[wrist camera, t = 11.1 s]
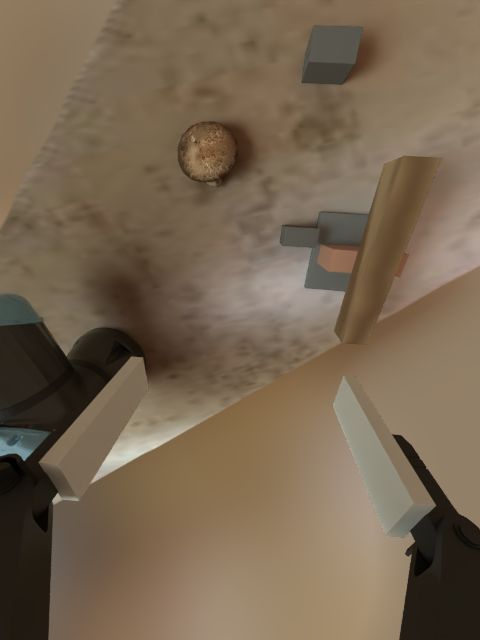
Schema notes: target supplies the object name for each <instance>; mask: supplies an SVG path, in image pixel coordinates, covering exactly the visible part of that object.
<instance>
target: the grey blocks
mask: <svg viewBox="0 0 480 640" xmlns="http://www.w3.org/2000/svg"><path fill="white" fill-rule="evenodd" d="M362 30H363V27H348V26H319V25H314V27H313V30H312V33H311V37H310V40H309V43H308V46H307V50H306V53H305V61H304V68H303V75H302V83H318V84H341V85H342V83H343V82H344V80H345V79H346V77H347V76H348V74H349V73H350V71H351V70H352V68H353V67H354V65H355V63H356V58H357V54H358V49H359V44H360V40H361V35H362ZM319 232H320V229H318V228H313V227H299V226H284V225H282V229H281V237H280V243H281V244H282V246H297V247H311V248H316V246H317V241H318V237H319Z"/></svg>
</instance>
